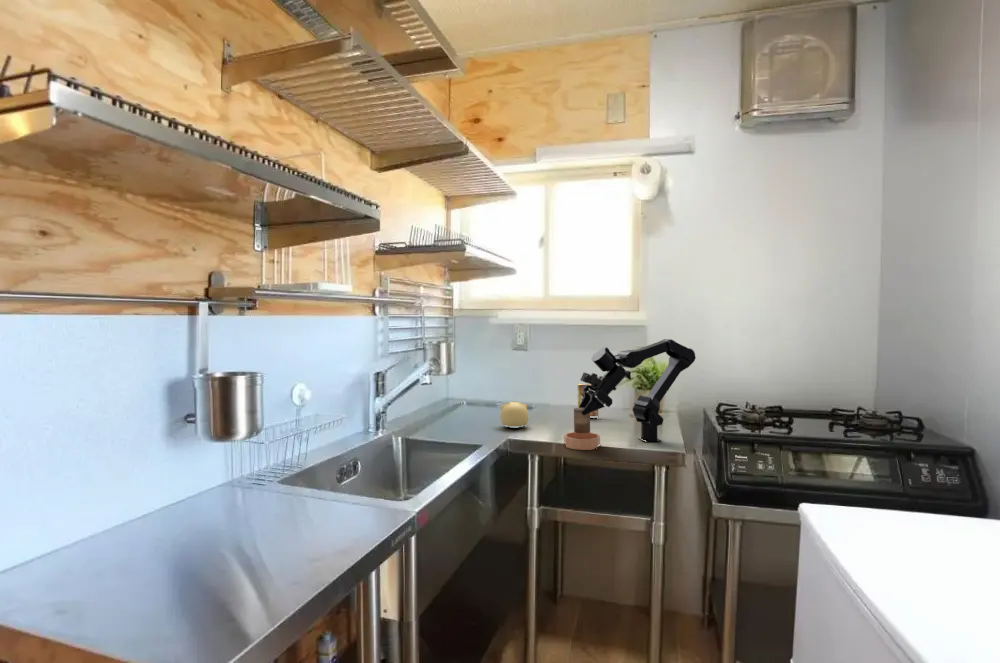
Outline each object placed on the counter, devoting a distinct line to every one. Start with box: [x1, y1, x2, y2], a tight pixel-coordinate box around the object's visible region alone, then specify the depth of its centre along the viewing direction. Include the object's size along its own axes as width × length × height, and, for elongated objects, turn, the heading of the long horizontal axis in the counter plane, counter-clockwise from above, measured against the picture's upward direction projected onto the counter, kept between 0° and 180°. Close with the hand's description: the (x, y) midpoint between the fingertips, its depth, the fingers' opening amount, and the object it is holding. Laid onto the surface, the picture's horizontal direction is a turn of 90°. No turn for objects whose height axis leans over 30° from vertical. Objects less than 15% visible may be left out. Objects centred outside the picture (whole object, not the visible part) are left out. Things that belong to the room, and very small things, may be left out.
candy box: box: [577, 383, 599, 417], centre depth 231 cm, size 9×4×15 cm, turn 86°
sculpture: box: [499, 401, 530, 426], centre depth 212 cm, size 12×12×11 cm
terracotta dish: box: [563, 431, 601, 451], centre depth 181 cm, size 12×12×4 cm
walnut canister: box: [573, 407, 591, 433], centre depth 180 cm, size 6×6×8 cm
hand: (580, 412), depth 180 cm, fingers closed on walnut canister, 5 cm apart
